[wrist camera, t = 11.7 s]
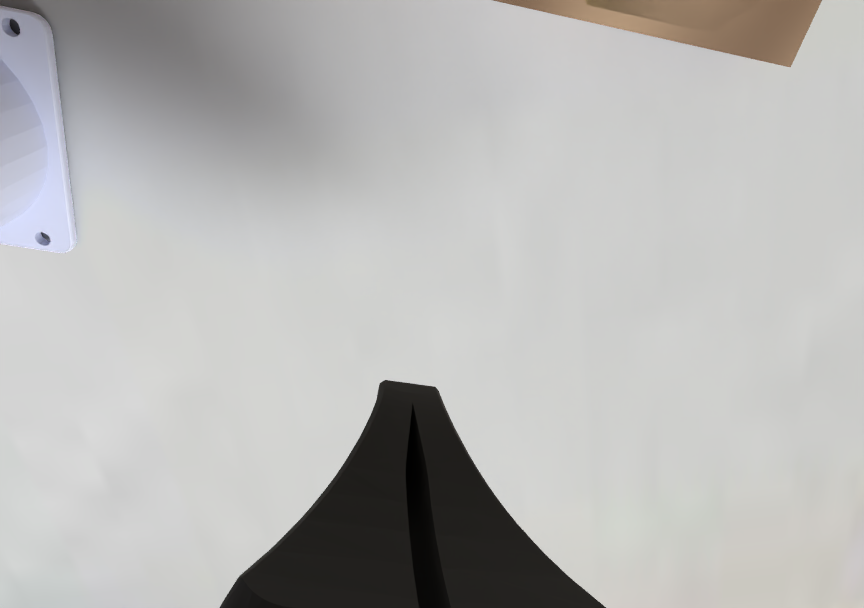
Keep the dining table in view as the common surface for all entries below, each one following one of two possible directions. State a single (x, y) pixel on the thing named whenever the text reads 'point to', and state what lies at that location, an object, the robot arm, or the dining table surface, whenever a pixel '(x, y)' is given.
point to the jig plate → (701, 22)
